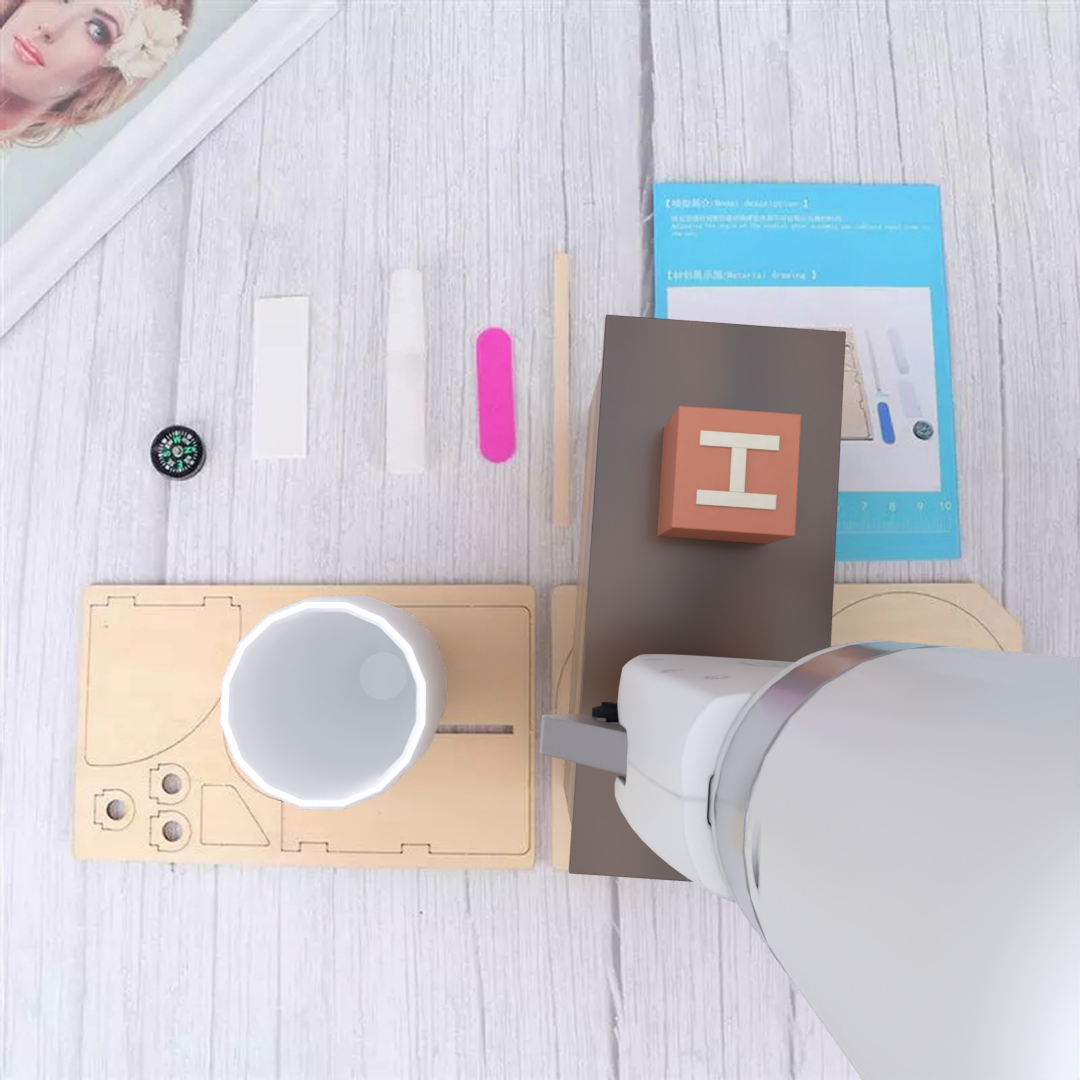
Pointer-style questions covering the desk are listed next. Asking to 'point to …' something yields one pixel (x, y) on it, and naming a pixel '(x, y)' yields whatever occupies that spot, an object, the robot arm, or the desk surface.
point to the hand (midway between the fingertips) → (724, 723)
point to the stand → (582, 579)
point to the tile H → (729, 475)
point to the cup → (332, 700)
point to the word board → (697, 564)
